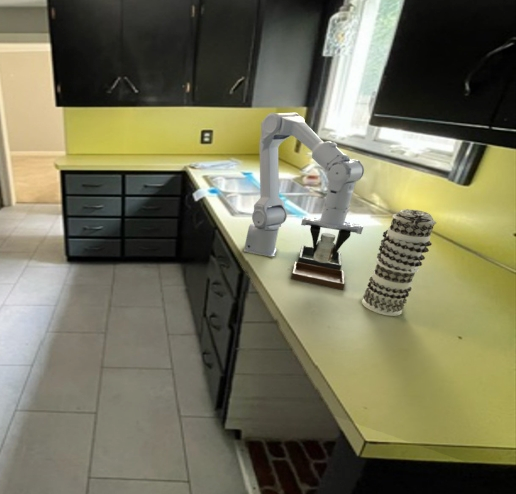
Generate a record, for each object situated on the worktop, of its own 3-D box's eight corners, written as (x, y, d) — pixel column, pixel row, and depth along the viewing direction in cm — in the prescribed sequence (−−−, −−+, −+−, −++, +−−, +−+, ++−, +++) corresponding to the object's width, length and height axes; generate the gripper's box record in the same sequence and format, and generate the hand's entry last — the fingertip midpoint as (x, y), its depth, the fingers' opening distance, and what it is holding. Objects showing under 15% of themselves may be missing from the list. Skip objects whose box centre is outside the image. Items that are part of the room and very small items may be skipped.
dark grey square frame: (297, 265, 113) (299, 257, 112) (299, 253, 122) (301, 244, 121) (338, 274, 108) (341, 265, 107) (338, 260, 117) (340, 251, 116)
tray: (290, 278, 106) (292, 273, 105) (293, 266, 113) (295, 261, 112) (342, 290, 100) (344, 284, 99) (342, 276, 107) (344, 270, 106)
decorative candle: (377, 317, 88) (414, 219, 77) (352, 297, 96) (381, 206, 86) (413, 316, 88) (454, 218, 78) (384, 296, 97) (417, 206, 86)
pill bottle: (332, 264, 102) (339, 238, 98) (315, 262, 102) (322, 237, 99) (327, 257, 106) (334, 232, 102) (311, 256, 106) (317, 231, 103)
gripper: (305, 206, 97) (294, 252, 103) (369, 214, 91) (353, 263, 97) (307, 200, 103) (296, 244, 109) (367, 207, 97) (352, 253, 102)
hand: (323, 252), depth 103 cm, fingers closed on pill bottle, 4 cm apart
